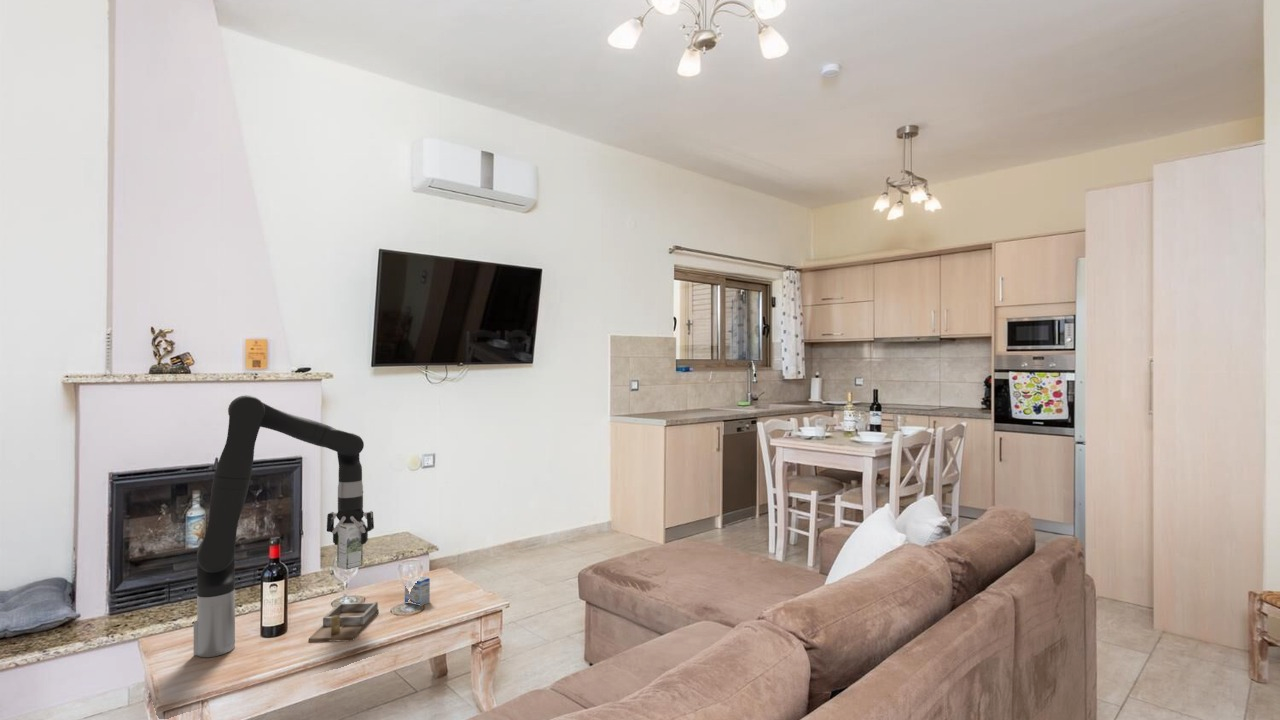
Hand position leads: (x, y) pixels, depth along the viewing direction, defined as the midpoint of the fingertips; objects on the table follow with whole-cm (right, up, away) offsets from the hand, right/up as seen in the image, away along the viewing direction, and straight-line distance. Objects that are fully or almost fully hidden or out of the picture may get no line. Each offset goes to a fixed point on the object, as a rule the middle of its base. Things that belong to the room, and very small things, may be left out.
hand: (350, 544), depth 205 cm
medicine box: (+16, -25, +15) cm, 34 cm away
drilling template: (+1, -25, -5) cm, 25 cm away
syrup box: (0, -7, 0) cm, 7 cm away
